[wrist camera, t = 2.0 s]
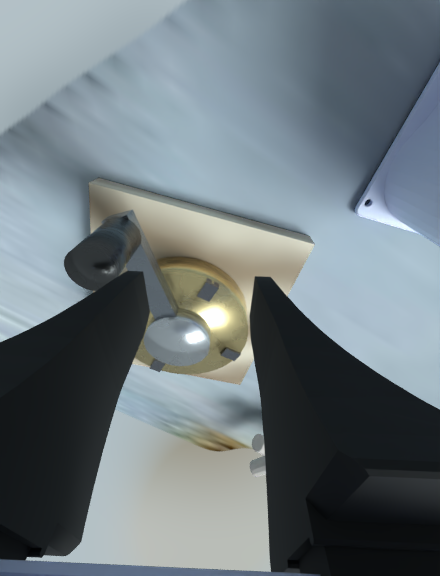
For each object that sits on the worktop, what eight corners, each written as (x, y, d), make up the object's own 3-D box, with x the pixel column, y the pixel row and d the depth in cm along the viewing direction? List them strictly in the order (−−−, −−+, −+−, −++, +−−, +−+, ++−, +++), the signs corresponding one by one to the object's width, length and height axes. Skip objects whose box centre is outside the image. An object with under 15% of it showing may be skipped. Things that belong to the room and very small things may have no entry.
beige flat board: (98, 177, 17) (87, 183, 16) (309, 236, 19) (315, 245, 18) (101, 345, 28) (94, 358, 26) (239, 373, 29) (240, 386, 28)
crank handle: (257, 344, 24) (265, 422, 18) (153, 359, 26) (129, 435, 20) (212, 176, 16) (200, 217, 9) (63, 219, 18) (-28, 275, 11)
